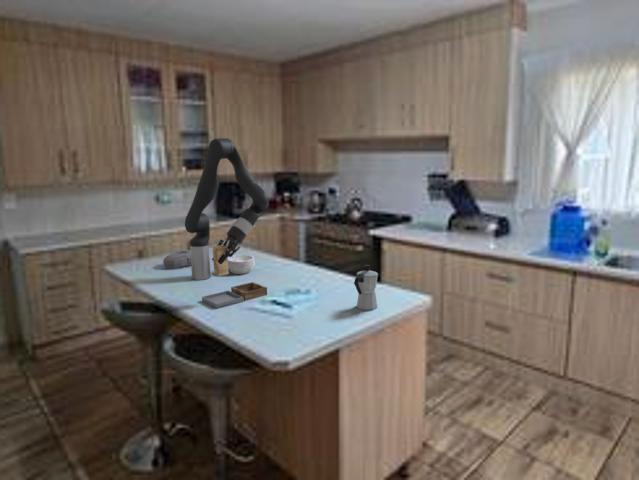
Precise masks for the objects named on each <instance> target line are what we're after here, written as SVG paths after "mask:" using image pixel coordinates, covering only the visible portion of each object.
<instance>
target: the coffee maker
mask: <svg viewBox="0 0 639 480" xmlns="http://www.w3.org/2000/svg"><path fill="white" fill-rule="evenodd" d="M363 266H364V270H361V271H358V272H356V277H355V279H354V282H353V284H354V286H355V288H356V292H357V293H358V296H357V297H358V298H357V302H356V307H357V309H358V310H362V311H374V310H376V309H378V303H377V296H376V294H377V293H376V292H375V290H376V288H377V281H378V277H379V273H378V272H376V271H373V270H371V269H370V268H371V265H370V264H364V265H363Z"/></svg>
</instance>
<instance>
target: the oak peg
mask: <svg viewBox="0 0 639 480" xmlns="http://www.w3.org/2000/svg"><path fill="white" fill-rule="evenodd" d="M226 247H227V246H223V245H219V246H217V245H214V246H212V258H213V260H212V262H213V273H214V275H217V276H219V277H221V276H225V275H229V269H228V258H226V259H225V261H224V262H223V263H222V264H220V263H218V260H219V258H220V257H221V256H222V254H223V253H224V251H225V248H226Z"/></svg>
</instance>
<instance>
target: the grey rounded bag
mask: <svg viewBox="0 0 639 480" xmlns="http://www.w3.org/2000/svg"><path fill="white" fill-rule="evenodd" d="M162 263H163V265H164V267H165V268H166V269H169V270H170V269H171V270H172V269H174V270H176V269H184V268H183V267H185V268H190V267H189V266H191V253H190V251H189V250H186V249H185V250H180V251H177V252H173V253H170V254H168V255H166V256H165V257H164V258H163V261H162ZM175 268H176V269H175Z"/></svg>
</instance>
